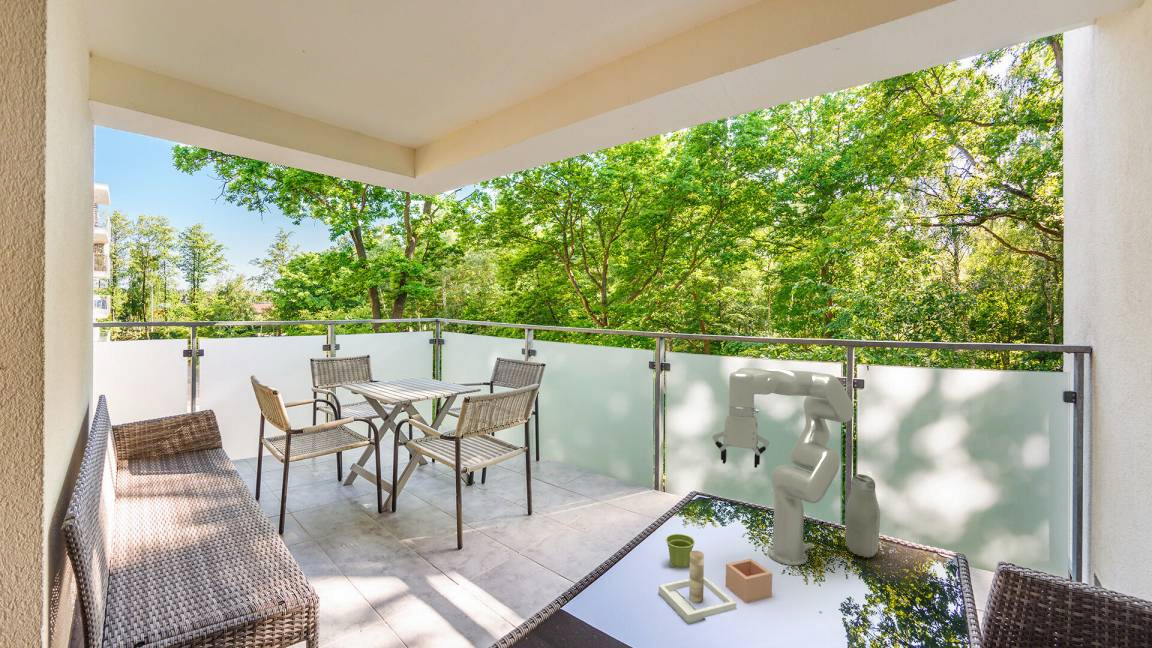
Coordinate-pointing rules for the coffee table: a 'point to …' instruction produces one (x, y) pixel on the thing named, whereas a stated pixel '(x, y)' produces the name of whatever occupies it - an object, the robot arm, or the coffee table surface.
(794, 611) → the coffee table surface
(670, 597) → the cream tray
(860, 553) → the grey bottle
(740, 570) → the terracotta cup
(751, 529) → the coffee table surface
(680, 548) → the plant pot
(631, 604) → the coffee table surface
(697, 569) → the birch dowel
